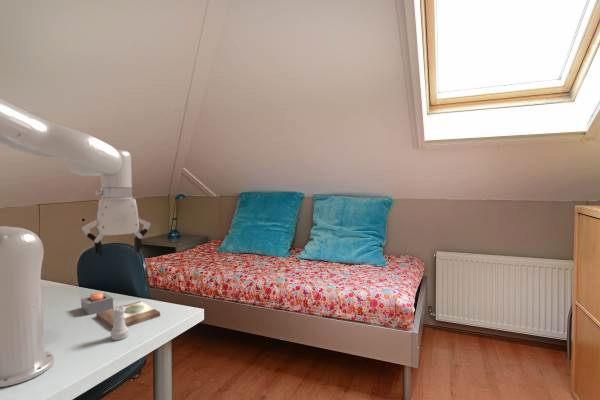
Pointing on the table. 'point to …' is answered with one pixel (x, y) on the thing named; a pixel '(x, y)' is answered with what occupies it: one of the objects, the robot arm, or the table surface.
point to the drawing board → (130, 314)
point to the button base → (96, 304)
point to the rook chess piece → (119, 324)
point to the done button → (96, 297)
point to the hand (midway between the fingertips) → (118, 253)
